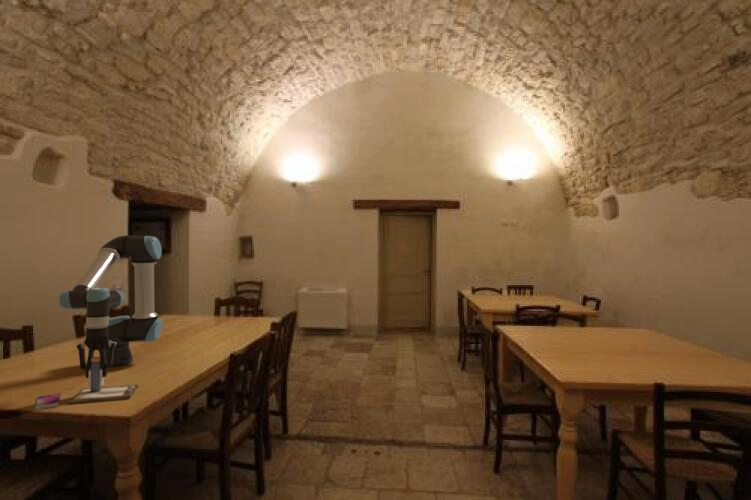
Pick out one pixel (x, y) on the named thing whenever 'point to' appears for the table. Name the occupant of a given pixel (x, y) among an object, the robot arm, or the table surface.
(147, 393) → the table surface
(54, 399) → the smartphone
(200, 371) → the table surface
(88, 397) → the clipboard
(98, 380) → the blue cylinder
